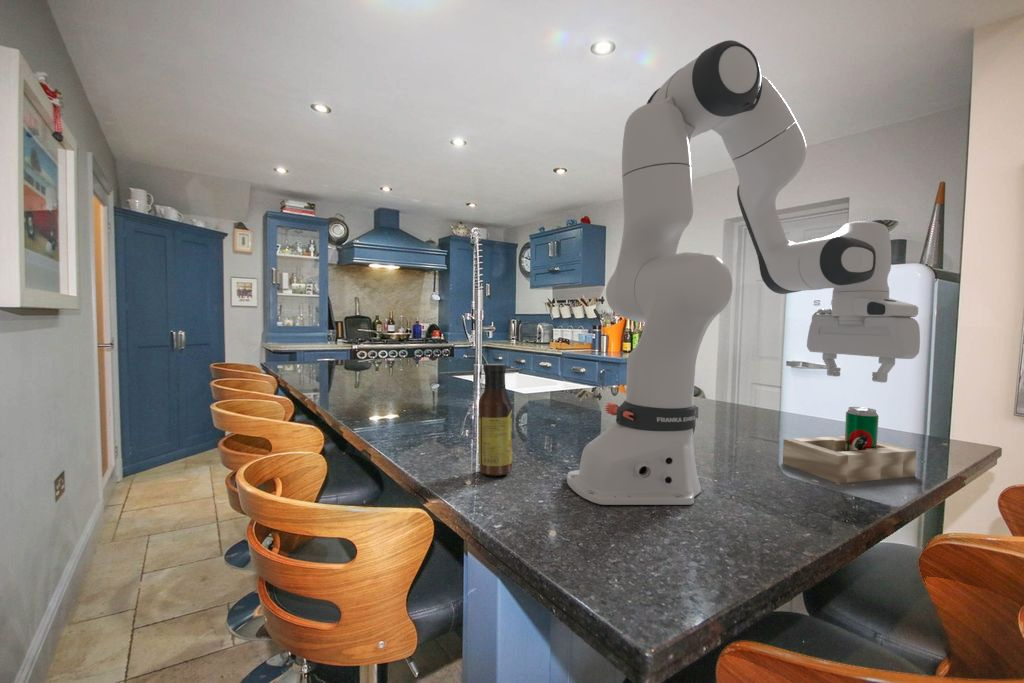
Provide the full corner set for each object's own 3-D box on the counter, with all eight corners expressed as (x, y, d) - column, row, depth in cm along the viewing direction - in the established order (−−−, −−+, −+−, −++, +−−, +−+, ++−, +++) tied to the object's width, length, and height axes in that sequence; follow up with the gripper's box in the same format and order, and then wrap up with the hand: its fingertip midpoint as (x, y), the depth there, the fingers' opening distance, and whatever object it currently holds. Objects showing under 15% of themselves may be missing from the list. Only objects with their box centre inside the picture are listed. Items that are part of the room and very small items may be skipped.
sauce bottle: (518, 473, 85) (520, 365, 84) (489, 479, 81) (491, 366, 81) (499, 464, 90) (501, 362, 90) (471, 469, 87) (472, 363, 86)
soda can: (882, 474, 88) (885, 411, 88) (855, 473, 88) (858, 410, 88) (862, 466, 93) (865, 406, 93) (837, 465, 93) (840, 406, 93)
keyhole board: (836, 483, 82) (838, 455, 82) (782, 463, 94) (783, 439, 94) (914, 477, 87) (916, 450, 86) (853, 458, 98) (854, 435, 98)
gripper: (801, 308, 100) (797, 373, 100) (900, 305, 80) (896, 385, 80) (825, 309, 101) (821, 373, 102) (928, 306, 81) (924, 385, 82)
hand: (855, 378), depth 91 cm, fingers open, 8 cm apart
